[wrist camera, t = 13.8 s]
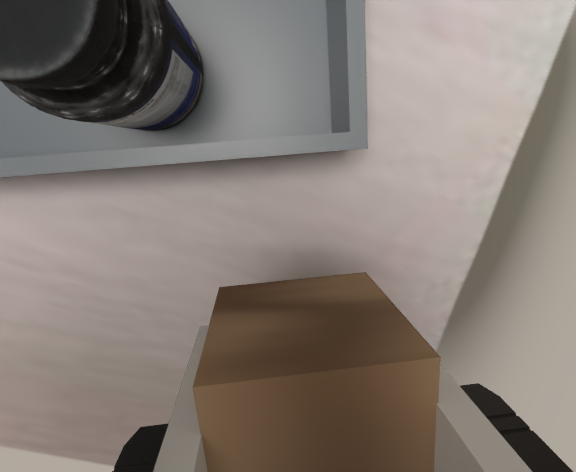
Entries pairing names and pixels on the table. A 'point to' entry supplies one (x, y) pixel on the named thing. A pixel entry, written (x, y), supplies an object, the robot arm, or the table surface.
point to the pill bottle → (101, 60)
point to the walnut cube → (315, 380)
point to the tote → (224, 94)
